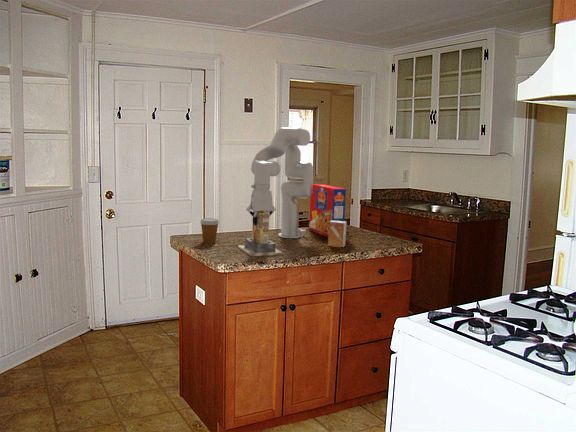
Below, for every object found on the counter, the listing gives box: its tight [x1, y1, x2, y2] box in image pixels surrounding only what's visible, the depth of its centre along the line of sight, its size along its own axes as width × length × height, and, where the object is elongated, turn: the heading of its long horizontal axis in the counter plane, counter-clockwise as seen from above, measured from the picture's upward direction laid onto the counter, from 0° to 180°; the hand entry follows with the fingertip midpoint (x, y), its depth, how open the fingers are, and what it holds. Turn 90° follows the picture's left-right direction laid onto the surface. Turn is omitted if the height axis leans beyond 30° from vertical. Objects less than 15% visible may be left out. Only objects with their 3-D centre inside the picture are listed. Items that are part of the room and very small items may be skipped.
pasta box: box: [308, 183, 347, 238], centre depth 322 cm, size 28×8×28 cm, turn 24°
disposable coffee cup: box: [200, 217, 220, 245], centre depth 284 cm, size 10×10×12 cm
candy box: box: [251, 211, 270, 244], centre depth 267 cm, size 9×4×15 cm, turn 38°
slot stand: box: [237, 237, 283, 257], centre depth 269 cm, size 16×20×5 cm
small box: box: [327, 220, 348, 248], centre depth 288 cm, size 8×6×13 cm
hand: (260, 224), depth 267 cm, fingers closed on candy box, 5 cm apart
